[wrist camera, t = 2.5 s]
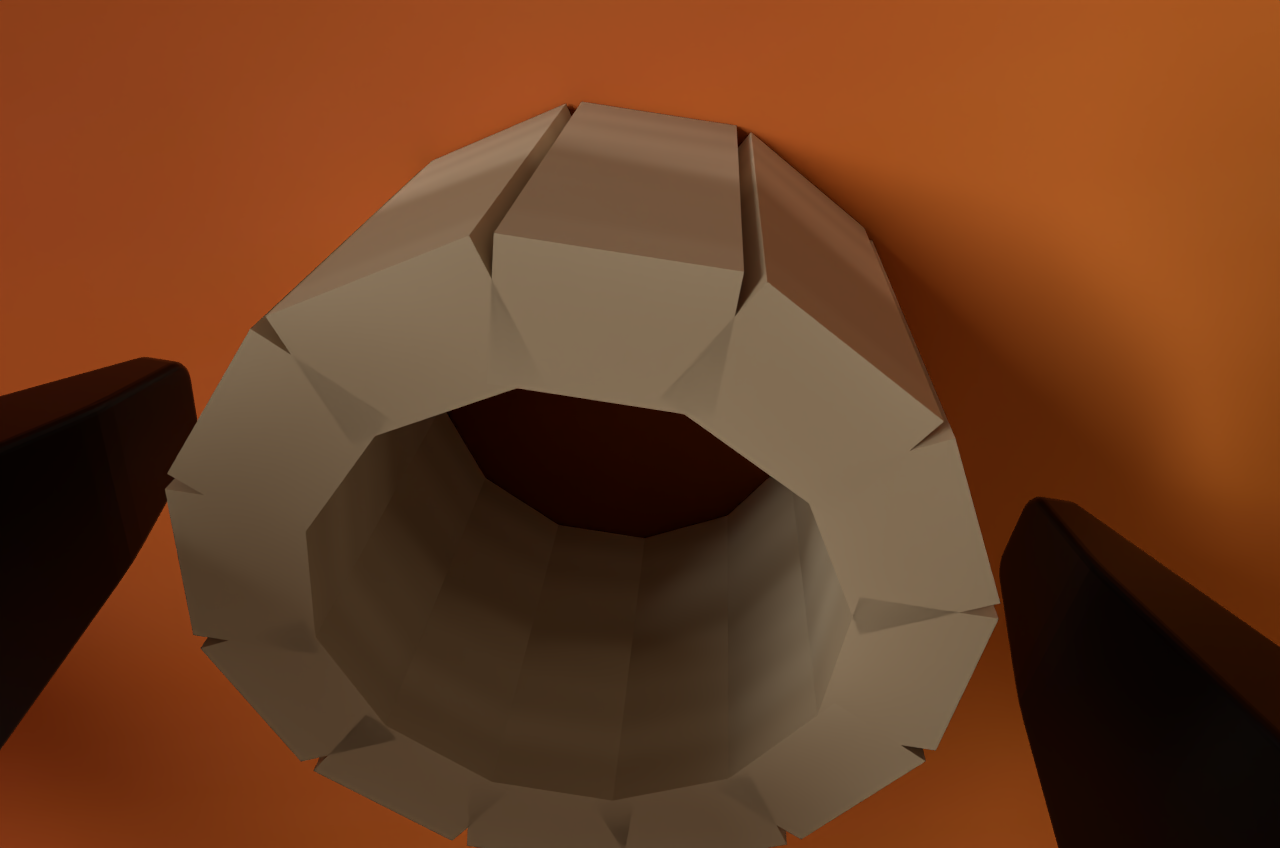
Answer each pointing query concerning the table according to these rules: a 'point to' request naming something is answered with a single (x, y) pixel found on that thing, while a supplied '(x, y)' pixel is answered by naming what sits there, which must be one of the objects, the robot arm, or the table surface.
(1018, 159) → the table surface
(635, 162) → the wooden ring
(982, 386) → the table surface
